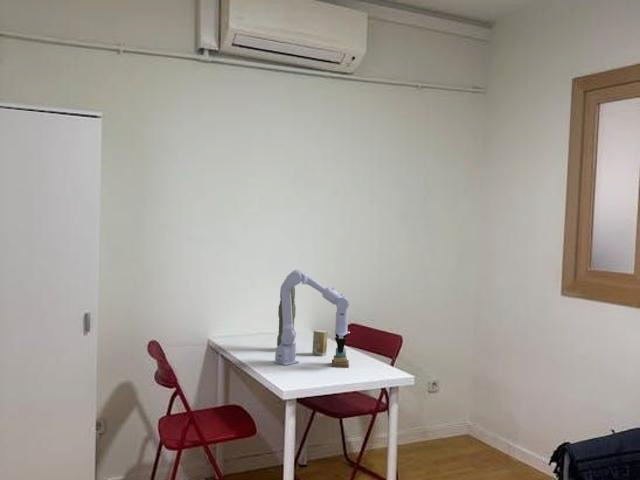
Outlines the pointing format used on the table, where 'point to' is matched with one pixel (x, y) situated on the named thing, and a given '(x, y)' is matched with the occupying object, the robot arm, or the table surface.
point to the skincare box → (319, 342)
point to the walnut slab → (340, 364)
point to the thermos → (281, 314)
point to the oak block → (340, 360)
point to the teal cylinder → (341, 355)
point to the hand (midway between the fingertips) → (340, 350)
